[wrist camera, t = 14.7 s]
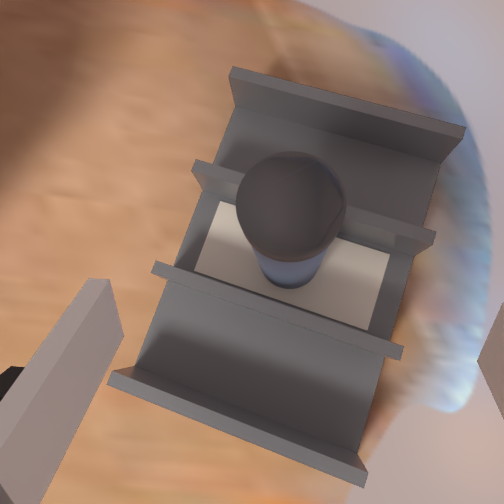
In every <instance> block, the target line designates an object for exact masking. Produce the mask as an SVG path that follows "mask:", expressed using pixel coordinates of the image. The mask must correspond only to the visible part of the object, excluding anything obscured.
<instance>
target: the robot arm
mask: <svg viewBox="0 0 504 504" xmlns="http://www.w3.org/2000/svg"><path fill="white" fill-rule="evenodd" d="M123 337H124V334H123V330H122V326H121V322H120V318H119V314H118V310H117V306H116V302H115V299H114V295H113V291H112V287H111V283H110V280H109V279H92V278H89V279H88V280H87V281H86V283H85V284H84V286H83V287H82V288H81V290H80V291H79V293H78V294H77V295H76V297H75V298H74V300H73V301H72V302H71V304H70V305H69V306H68V308H67V309H66V311H65V312H64V313H63V315H62V316H61V318H60V319H59V320H58V322H57V323H56V325H55V326H54V327H53V329H52V330H51V332H50V333H49V334H48V336H47V337H46V339H45V340H44V341H43V343H42V344H41V346H40V347H39V348H38V350H37V351H36V353H35V354H34V355H33V357H32V358H31V360H30V361H29V362H28V364H27V365H26V367H15V366H11V367H10V368H8V369H7V370H6V371H4V372H3V373H2V374H1V375H0V504H40V503H41V501H42V499H43V497H44V495H45V493H46V491H47V489H48V487H49V485H50V483H51V481H52V479H53V477H54V475H55V473H56V471H57V469H58V467H59V465H60V463H61V461H62V459H63V457H64V455H65V453H66V451H67V449H68V447H69V445H70V443H71V441H72V439H73V437H74V435H75V433H76V431H77V429H78V427H79V425H80V423H81V421H82V419H83V417H84V415H85V413H86V411H87V409H88V407H89V405H90V403H91V401H92V399H93V397H94V395H95V393H96V391H97V389H98V387H99V385H100V383H101V381H102V379H103V377H104V375H105V373H106V371H107V369H108V367H109V365H110V363H111V361H112V359H113V357H114V355H115V353H116V351H117V349H118V347H119V345H120V343H121V341H122V339H123ZM477 362H478V364H479V366H480V369H481V371H482V373H483V375H484V377H485V379H486V382H487V384H488V386H489V388H490V390H491V393H492V395H493V397H494V399H495V401H496V403H497V406H498V408H499V410H500V412H501V415H502V417H503V419H504V303H502V306H501V308H500V310H499V312H498V315H497V317H496V319H495V321H494V324H493V326H492V328H491V330H490V333H489V335H488V337H487V340H486V342H485V344H484V346H483V349H482V351H481V353H480V355H479V358H478V360H477Z"/></svg>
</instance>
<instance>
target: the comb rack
mask: <svg viewBox="0 0 504 504" xmlns="http://www.w3.org/2000/svg"><path fill="white" fill-rule="evenodd" d="M229 81H230V85H231V89H232V94H233V98H234V103H235V108H234V111H233V113H232V116H231V119H230V121H229V124H228V126H227V129H226V131H225V134H224V137H223V139H222V142H221V144H220V147H219V149H218V152H217V155H216V157H215V160H214V162H213V164H210V163H207V162H204V161H200V160H197V159H196V160H195V163H194V165H193V168H192V170H191V171H192V173H193V174H194V176H195V178H196V179H197V181H198V183H199V184H200V186H201V188H202V189H203V191H202V193H201V196H200V199H199V201H198V204H197V206H196V209H195V211H194V214H193V217H192V219H191V222H190V224H189V227H188V229H187V232H186V235H185V237H184V240H183V242H182V245H181V248H180V250H179V253H178V255H177V258H176V260H175V263H174V266H171V265H168V264H165V263H162V262H159V261H155V264H154V266H153V269H152V271H151V273H152V274H155V275H157V276H159V277H161V278H164V279H166V280H168V281H167V284H166V286H165V289H164V291H163V294H162V297H161V299H160V302H159V304H158V307H157V309H156V312H155V315H154V317H153V320H152V322H151V325H150V327H149V330H148V333H147V335H146V338H145V340H144V343H143V346H142V348H141V351H140V353H139V356H138V358H137V361H136V364H135V366H133V367H128V368H123V369H119V370H114V371H112V372H111V375H110V377H109V380H108V382H107V385H109V386H111V387H114V388H116V389H119V390H121V391H124V392H126V393H129V394H131V395H134V396H136V397H139V398H141V399H144V400H146V401H149V402H151V403H153V404H156V405H158V406H161V407H163V408H166V409H168V410H171V411H173V412H176V413H178V414H181V415H183V416H186V417H188V418H191V419H193V420H196V421H198V422H201V423H203V424H206V425H208V426H210V427H213V428H215V429H218V430H220V431H223V432H225V433H228V434H230V435H233V436H235V437H238V438H240V439H243V440H245V441H248V442H250V443H253V444H255V445H258V446H260V447H263V448H265V449H267V450H270V451H272V452H275V453H277V454H280V455H282V456H285V457H287V458H290V459H292V460H295V461H297V462H300V463H302V464H305V465H307V466H310V467H312V468H315V469H317V470H320V471H322V472H324V473H327V474H329V475H332V476H334V477H337V478H339V479H342V480H344V481H347V482H349V483H352V484H354V485H357V486H359V487H362V488H364V486H365V483H366V479H367V475H368V472H367V470H366V468H365V466H364V464H363V463H362V461H361V459H360V457H359V456H358V454H357V452H358V449H359V445H360V442H361V438H362V435H363V431H364V428H365V424H366V421H367V417H368V414H369V411H370V407H371V404H372V400H373V397H374V393H375V390H376V386H377V383H378V379H379V376H380V372H381V369H382V366H383V362H384V359H385V357H387V358H391V359H395V360H399V361H400V359H401V355H402V352H403V348H404V346H401V345H398V344H396V343H393V342H390V338H391V334H392V331H393V327H394V324H395V321H396V317H397V314H398V310H399V307H400V303H401V300H402V296H403V293H404V289H405V286H406V282H407V279H408V276H409V272H410V269H411V265H412V262H413V258H414V256H415V255H417V254H418V253H420V252H422V251H423V250H425V249H427V248H428V247H430V246H432V245H433V242H434V239H435V235H436V232H435V231H432V230H429V229H425V228H422V227H423V224H424V220H425V217H426V213H427V210H428V206H429V203H430V199H431V196H432V192H433V189H434V186H435V182H436V179H437V175H438V172H439V168H440V165H441V163H442V161H443V160H444V159H445V158H446V157H447V156H448V155H449V154H450V153H451V151H452V150H453V149H454V148H455V147H456V146H457V145H458V144H459V143H460V141H461V140H462V139H463V136H464V132H465V129H466V127H463V126H459V125H455V124H452V123H448V122H444V121H440V120H436V119H433V118H429V117H425V116H421V115H417V114H413V113H410V112H406V111H402V110H398V109H394V108H391V107H387V106H383V105H379V104H375V103H372V102H368V101H364V100H360V99H356V98H352V97H349V96H345V95H341V94H337V93H333V92H330V91H326V90H322V89H318V88H314V87H311V86H307V85H303V84H299V83H295V82H291V81H288V80H284V79H280V78H276V77H272V76H269V75H265V74H261V73H257V72H253V71H250V70H246V69H242V68H238V67H234V66H233V67H232V69H231V72H230V74H229ZM285 151H298V152H304V153H308V154H311V155H314V156H316V157H318V158H320V159H321V160H323V161H324V162H326V163H327V164H328V165H329V166H331V167H332V169H333V170H334V171H335V172H336V173H337V175H338V176H339V178H340V180H341V182H342V184H343V186H344V189H345V193H346V202H347V206H346V214H345V218H344V221H343V223H342V226H341V228H340V230H339V232H338V234H337V236H336V237H335V239H334V240H333V242H332V243H331V244H330V245H329V247H328V249H327V251H326V253H325V256H324V258H323V260H322V262H321V264H320V266H319V268H318V271H317V273H316V274H315V276H314V277H313V279H312V280H311V281H310V282H308V283H307V284H306V285H304V286H302V287H299V288H295V289H284V288H280V287H278V286H275V285H274V284H272V283H271V282H270V281H269V280H267V278H266V277H265V276H264V274H263V272H262V270H261V268H260V265H259V263H258V260H257V258H256V256H255V253H254V251H253V248H252V246H251V244H250V243H249V242H248V240H247V239H246V237H245V235H244V233H243V231H242V229H241V226H240V224H239V221H238V218H237V214H236V195H237V191H238V188H239V185H240V183H241V181H242V179H243V177H244V176H245V174H246V173H247V172H248V171H249V169H250V168H251V167H252V166H253V165H255V164H256V163H257V162H259V161H260V160H262V159H263V158H265V157H267V156H270V155H272V154H275V153H279V152H285Z"/></svg>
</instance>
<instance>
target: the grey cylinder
mask: <svg viewBox="0 0 504 504" xmlns="http://www.w3.org/2000/svg"><path fill="white" fill-rule="evenodd" d="M346 206H347V202H346V193H345V189H344V186H343V184H342V182H341V180H340V178H339V176H338V175H337V173H336V172H335V171H334V170H333V169H332V167H331V166H329V165H328V164H327V163H326V162H324V161H323V160H321V159H320V158H318V157H316V156H314V155H311V154H308V153H304V152H298V151H285V152H279V153H275V154H272V155H270V156H267V157H265V158H263V159H262V160H260V161H259V162H257V163H256V164H255V165H253V166H252V167H251V168H250V169H249V171H248V172H247V173H246V174H245V176H244V177H243V179H242V181H241V183H240V185H239V188H238V191H237V195H236V214H237V218H238V221H239V224H240V226H241V229H242V231H243V233H244V235H245V237H246V239H247V240H248V242H249V243H250V244H251V246H252V248H253V251H254V253H255V256H256V258H257V260H258V263H259V265H260V268H261V270H262V272H263V274H264V276H265V277H266V278H267V280H269V281H270V282H271V283H272V284H274V285H275V286H278V287H280V288H284V289H295V288H299V287H302V286H304V285H306V284H307V283H308V282H310V281H311V280H312V279H313V277H314V276H315V274H316V273H317V271H318V268H319V266H320V264H321V262H322V260H323V258H324V256H325V253H326V251H327V249H328V247H329V245H330V244H331V243H332V242H333V240H334V239H335V237H336V236H337V234H338V232H339V230H340V228H341V226H342V223H343V221H344V218H345V214H346Z"/></svg>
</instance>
